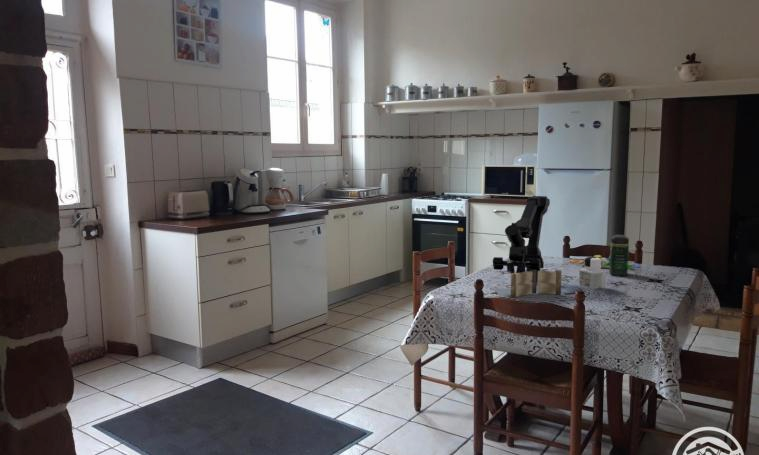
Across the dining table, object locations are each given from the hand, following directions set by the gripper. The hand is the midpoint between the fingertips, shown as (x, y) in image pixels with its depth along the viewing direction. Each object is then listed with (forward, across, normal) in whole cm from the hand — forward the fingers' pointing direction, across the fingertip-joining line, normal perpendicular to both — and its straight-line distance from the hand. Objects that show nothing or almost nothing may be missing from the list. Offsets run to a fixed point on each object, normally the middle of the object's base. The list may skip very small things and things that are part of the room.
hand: (514, 281), depth 233 cm
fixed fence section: (0, +13, +8) cm, 15 cm away
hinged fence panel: (+3, +3, +5) cm, 7 cm away
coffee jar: (-33, +43, +43) cm, 69 cm away
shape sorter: (-48, +37, +59) cm, 84 cm away
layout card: (0, +5, +10) cm, 11 cm away
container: (-12, +30, +22) cm, 39 cm away
